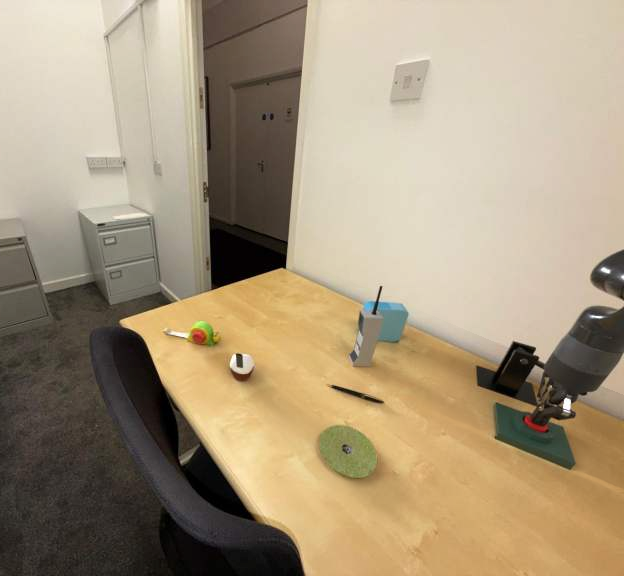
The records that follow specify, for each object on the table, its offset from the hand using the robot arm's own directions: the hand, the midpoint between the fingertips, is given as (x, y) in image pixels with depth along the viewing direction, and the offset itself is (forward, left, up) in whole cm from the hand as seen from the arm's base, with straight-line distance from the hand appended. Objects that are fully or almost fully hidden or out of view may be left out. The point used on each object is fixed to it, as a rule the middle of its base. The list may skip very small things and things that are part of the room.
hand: (536, 422), depth 63 cm
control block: (0, 0, -5) cm, 5 cm away
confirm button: (0, 0, -2) cm, 2 cm away
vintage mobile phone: (+37, -3, -5) cm, 37 cm away
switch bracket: (+3, -15, -5) cm, 16 cm away
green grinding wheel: (+32, +27, -5) cm, 42 cm away
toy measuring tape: (+84, +16, -5) cm, 86 cm away
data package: (+35, -19, -5) cm, 40 cm away
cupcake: (+62, +21, -5) cm, 66 cm away
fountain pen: (+35, +10, -5) cm, 37 cm away
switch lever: (-2, -15, +4) cm, 16 cm away
